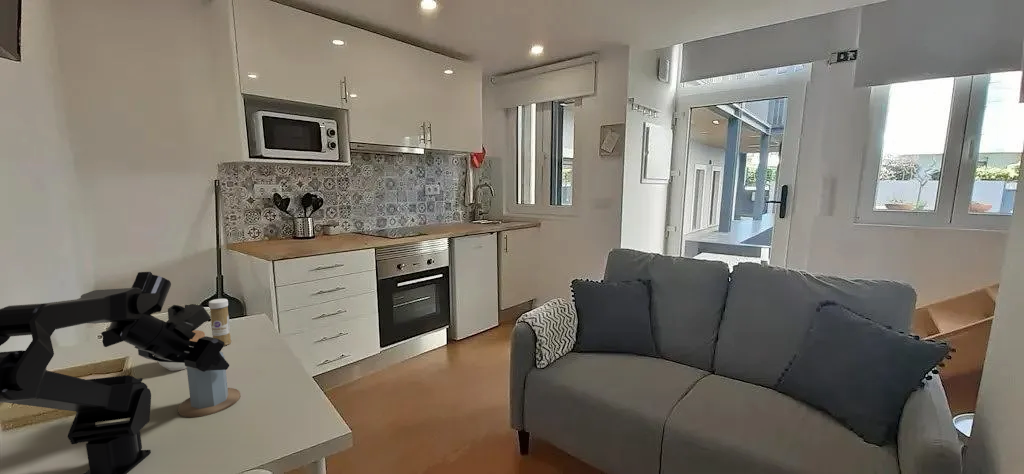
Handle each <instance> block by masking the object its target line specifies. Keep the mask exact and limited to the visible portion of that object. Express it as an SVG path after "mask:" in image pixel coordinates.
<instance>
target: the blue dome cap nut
mask: <svg viewBox="0 0 1024 474" xmlns="http://www.w3.org/2000/svg"><path fill="white" fill-rule="evenodd" d="M220 354H221V355H222V357H223V358H224V359H225V358H226V357H225V355H224V352H223V351H220ZM225 360H226V359H225ZM186 372H187V374H186V375H187V381H188V391H189V398H190V400H191V407H194V408H198V409H201V408H207V407H212V406H215V405H217V404H219V403H221V402H223V401H225V400H226V399H227V397H228V388H229V387H228V380H227V370H210V371H205V372H202V371H198V370H194V369H192V368H189V367H187V369H186Z"/></svg>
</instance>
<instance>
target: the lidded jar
mask: <svg viewBox="0 0 1024 474" xmlns="http://www.w3.org/2000/svg"><path fill="white" fill-rule="evenodd" d="M192 332H194V333H196V334H195V336H194V337H193V338H192V339H190V340H189V341H194V342H197V341H198V339H199V338H202V337H205V336H206V334H205V332H204V331H203V330H197V329H195V330H194V331H192ZM190 347H191V346H190ZM157 363H158V364H159V365H160V366H161V367H163V368H165V369H167V370H168V371H171V372H173V371H174V372H175V371H176V372H177V371H182V370H187V366H185V363H178V362H160V361H157Z"/></svg>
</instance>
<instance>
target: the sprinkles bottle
mask: <svg viewBox="0 0 1024 474" xmlns="http://www.w3.org/2000/svg"><path fill="white" fill-rule="evenodd" d="M228 306H229V300H228V299H227V298H215V299H212V300H209V301H208V308H209V310H210V317H211V318H210V320H211V323H210V325H211V326H210V327H211V336H212V338H217V339H219V340H221V341H223V342H224V347H225V346H228V345H231V343H232V338H231V337H232V336H231V326H230V315H229V308H228Z"/></svg>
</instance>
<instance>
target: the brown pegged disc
mask: <svg viewBox="0 0 1024 474" xmlns="http://www.w3.org/2000/svg"><path fill="white" fill-rule="evenodd" d="M240 399H241V392H240V390H239V389H237V388H234V387H228V397H227V399H226V400H225V401H223V402H221V403H219V404H217V405H215V406H212V407H207V408H201V409H198V408H194V407H191V400H190V397H188V398H186V399H185V400H183V401H182V402H181V403H180V404H179V405H178V408H177V410H178V411H177V413H178V412H179V413H178V415H179V416H181V415H182V416H181V417H184V416H186V418H199V417H198V416H200V417H206V416H209V415H213V413H214V414H217V413H219V412H222V411H224V410H227V409H228V408H230V407H232V406H233V405H235V404H236V403H237V402H239V400H240ZM203 415H204V416H203ZM205 415H206V416H205Z"/></svg>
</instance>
